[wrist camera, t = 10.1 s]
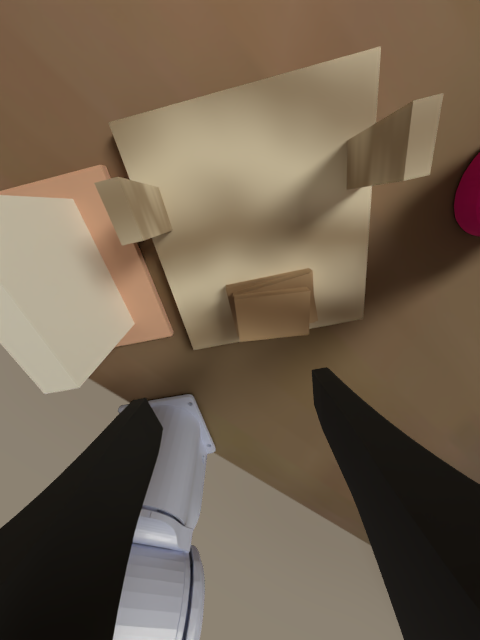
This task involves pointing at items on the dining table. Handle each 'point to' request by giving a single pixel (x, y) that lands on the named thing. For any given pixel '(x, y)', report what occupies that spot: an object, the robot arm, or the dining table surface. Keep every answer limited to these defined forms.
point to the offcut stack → (273, 305)
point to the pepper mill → (469, 199)
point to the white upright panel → (55, 293)
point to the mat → (109, 250)
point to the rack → (266, 186)
